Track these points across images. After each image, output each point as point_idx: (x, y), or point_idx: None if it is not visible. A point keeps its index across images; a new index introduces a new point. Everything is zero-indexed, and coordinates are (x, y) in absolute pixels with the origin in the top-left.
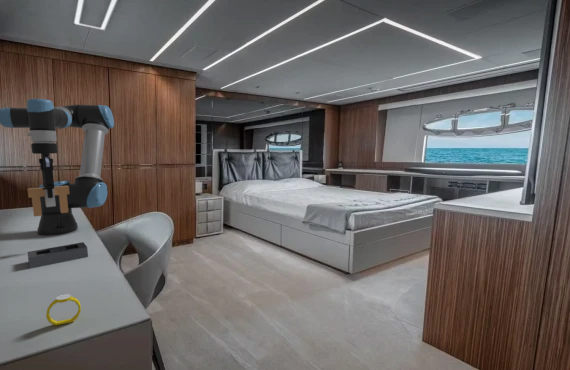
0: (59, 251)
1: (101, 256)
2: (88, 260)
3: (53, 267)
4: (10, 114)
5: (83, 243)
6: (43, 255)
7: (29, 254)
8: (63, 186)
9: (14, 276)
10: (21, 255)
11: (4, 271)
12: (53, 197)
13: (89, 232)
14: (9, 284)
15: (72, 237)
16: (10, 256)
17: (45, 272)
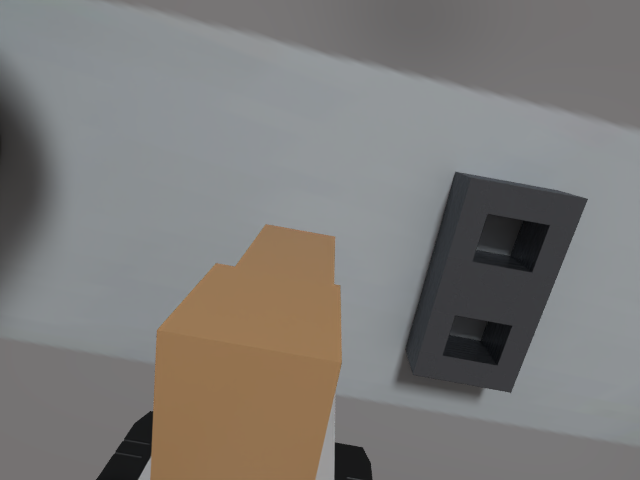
0: (533, 299)
1: (614, 149)
2: (611, 208)
3: (560, 316)
4: None
5: (499, 186)
6: (526, 351)
7: (462, 379)
8: (270, 429)
9: (531, 407)
10: None
11: (447, 413)
12: (332, 435)
13: (73, 6)
14: (595, 429)
15: (131, 119)
16: None
17: (589, 346)
